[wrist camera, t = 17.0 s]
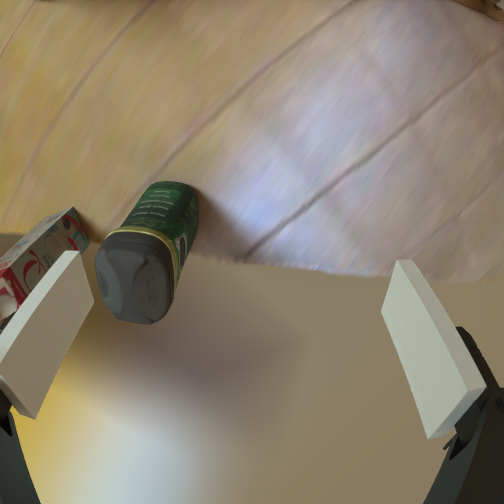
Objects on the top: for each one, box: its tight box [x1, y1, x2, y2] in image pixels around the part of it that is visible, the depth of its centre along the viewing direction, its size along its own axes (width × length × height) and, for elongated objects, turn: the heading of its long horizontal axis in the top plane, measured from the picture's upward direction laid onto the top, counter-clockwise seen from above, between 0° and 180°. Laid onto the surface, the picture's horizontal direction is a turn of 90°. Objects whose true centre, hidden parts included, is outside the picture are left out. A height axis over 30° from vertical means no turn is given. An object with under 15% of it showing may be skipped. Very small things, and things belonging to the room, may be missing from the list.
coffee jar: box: [95, 181, 198, 324], centre depth 36 cm, size 10×8×19 cm
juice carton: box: [0, 207, 90, 325], centre depth 36 cm, size 7×7×22 cm
